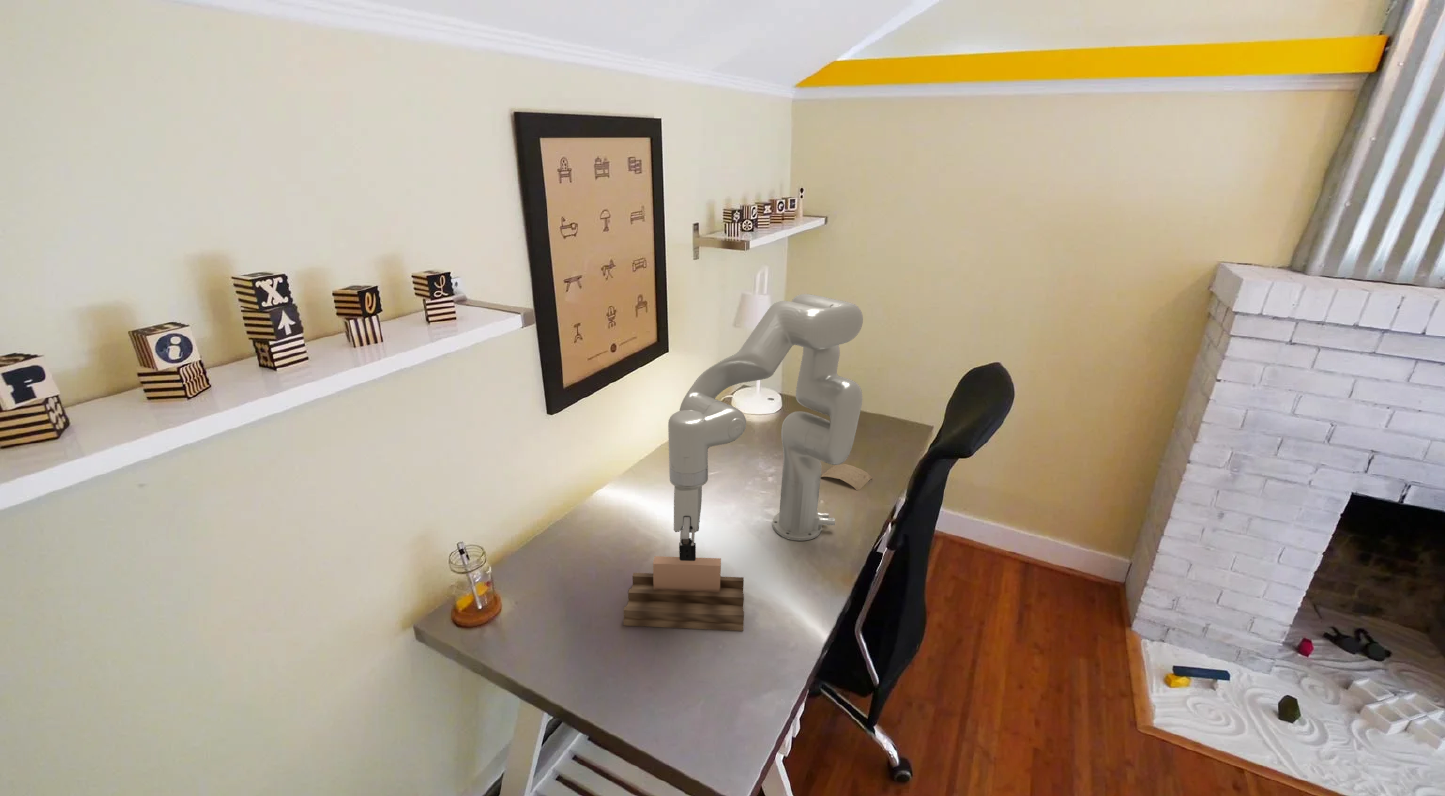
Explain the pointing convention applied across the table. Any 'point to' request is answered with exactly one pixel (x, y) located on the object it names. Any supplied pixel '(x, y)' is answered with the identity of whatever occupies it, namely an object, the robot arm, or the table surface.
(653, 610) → the wooden stepped riser
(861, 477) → the tan curved panel
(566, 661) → the table surface
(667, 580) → the clay strip
